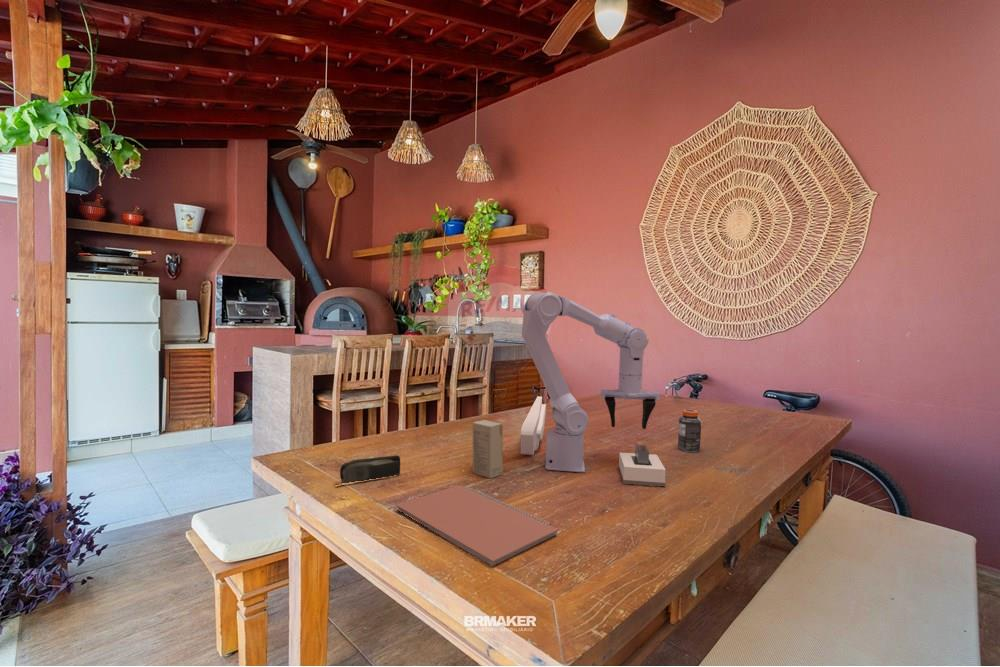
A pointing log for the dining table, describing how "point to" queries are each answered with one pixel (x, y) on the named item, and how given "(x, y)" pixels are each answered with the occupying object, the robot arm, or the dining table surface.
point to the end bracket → (641, 455)
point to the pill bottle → (689, 431)
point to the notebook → (478, 523)
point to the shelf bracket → (533, 427)
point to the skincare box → (487, 448)
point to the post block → (641, 470)
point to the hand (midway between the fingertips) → (628, 427)
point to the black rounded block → (370, 468)
